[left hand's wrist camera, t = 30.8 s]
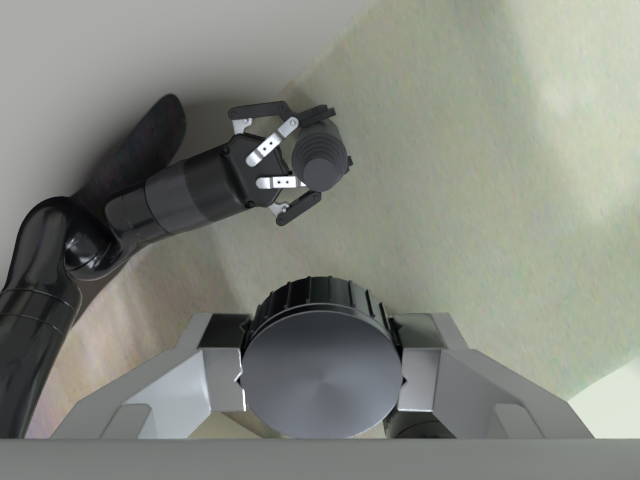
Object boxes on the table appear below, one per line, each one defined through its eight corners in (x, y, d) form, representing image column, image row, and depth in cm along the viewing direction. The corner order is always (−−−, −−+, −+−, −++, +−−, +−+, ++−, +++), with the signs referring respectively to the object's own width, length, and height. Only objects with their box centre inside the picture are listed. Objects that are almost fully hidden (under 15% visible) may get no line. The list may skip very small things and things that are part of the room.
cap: (424, 333, 10) (441, 376, 9) (326, 416, 11) (327, 467, 10) (315, 244, 9) (314, 274, 8) (219, 343, 10) (203, 387, 9)
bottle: (344, 150, 49) (360, 195, 29) (307, 162, 50) (299, 214, 30) (332, 111, 47) (341, 132, 28) (294, 124, 48) (277, 153, 28)
